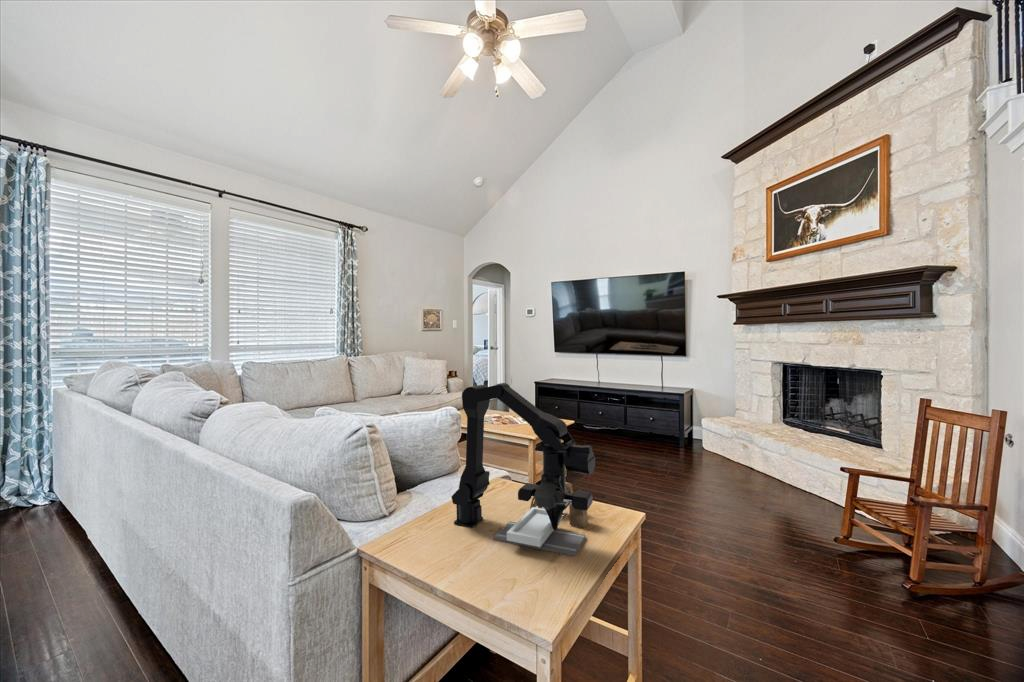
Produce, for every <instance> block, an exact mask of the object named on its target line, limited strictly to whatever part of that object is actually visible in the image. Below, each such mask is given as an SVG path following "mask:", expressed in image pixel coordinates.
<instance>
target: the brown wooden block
mask: <svg viewBox="0 0 1024 682" xmlns="http://www.w3.org/2000/svg"><path fill="white" fill-rule="evenodd" d="M568 508H569V510H568V511H569V526H570V525H571V527H574V526H577V527H576V528H580V527H583V528H582V529H584V528H585V527H586V525H587V524H588V510H579V509H574V508H573V506H572V505H571V503H570V504H569V506H568ZM586 523H587V524H586ZM584 526H585V527H584Z"/></svg>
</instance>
